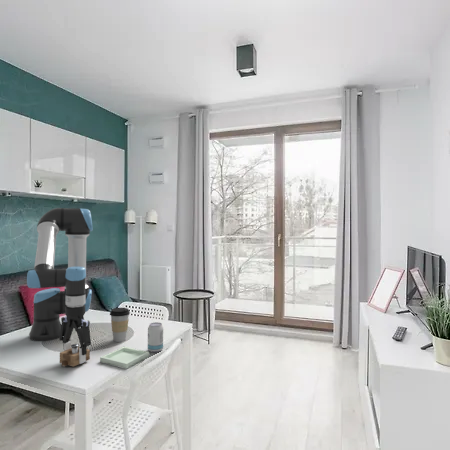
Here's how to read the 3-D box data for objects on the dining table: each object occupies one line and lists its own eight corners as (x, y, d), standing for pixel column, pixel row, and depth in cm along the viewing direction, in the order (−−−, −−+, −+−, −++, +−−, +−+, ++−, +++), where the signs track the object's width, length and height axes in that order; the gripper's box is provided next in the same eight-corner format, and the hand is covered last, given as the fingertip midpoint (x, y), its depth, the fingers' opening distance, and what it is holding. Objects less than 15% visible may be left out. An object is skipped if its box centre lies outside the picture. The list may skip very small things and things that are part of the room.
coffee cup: (123, 344, 163) (124, 312, 163) (105, 342, 165) (106, 311, 165) (132, 337, 172) (133, 307, 172) (115, 336, 174) (116, 306, 174)
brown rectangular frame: (76, 355, 145) (76, 346, 145) (89, 359, 142) (89, 349, 142) (56, 364, 137) (56, 354, 137) (70, 368, 133) (70, 358, 133)
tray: (100, 362, 142) (100, 357, 142) (124, 350, 154) (124, 346, 154) (126, 368, 135) (126, 363, 135) (149, 356, 148) (149, 352, 148)
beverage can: (148, 347, 158) (148, 322, 158) (163, 347, 159) (164, 321, 159) (146, 353, 152) (146, 326, 152) (162, 353, 152) (162, 326, 152)
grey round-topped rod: (69, 364, 139) (69, 345, 139) (75, 361, 142) (75, 343, 142) (74, 365, 138) (74, 346, 138) (79, 363, 140) (80, 344, 140)
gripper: (49, 303, 141) (49, 358, 141) (86, 310, 132) (85, 369, 132) (65, 300, 148) (64, 352, 148) (101, 306, 138) (100, 362, 139)
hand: (74, 360), depth 140 cm, fingers closed on brown rectangular frame, 8 cm apart
